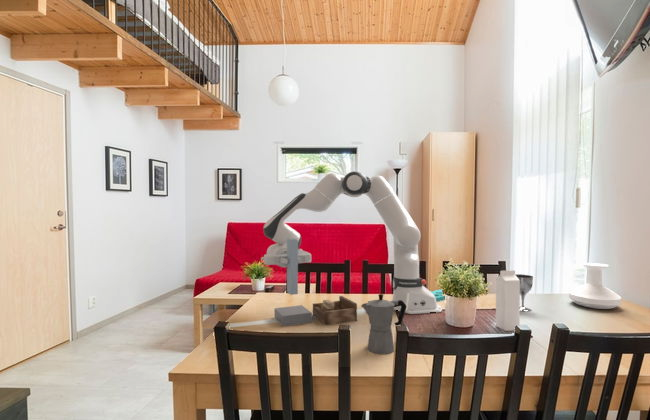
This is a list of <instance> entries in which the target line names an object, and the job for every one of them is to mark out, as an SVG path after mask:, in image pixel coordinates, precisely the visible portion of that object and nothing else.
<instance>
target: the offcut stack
mask: <svg viewBox="0 0 650 420" xmlns="http://www.w3.org/2000/svg"><path fill="white" fill-rule="evenodd" d="M322 303H323V305H321V310H323V311H324V312H325V311H333V310H334V302H332V300H330V299H322Z"/></svg>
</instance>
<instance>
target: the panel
mask: <svg viewBox="0 0 650 420" xmlns="http://www.w3.org/2000/svg"><path fill="white" fill-rule="evenodd" d="M298 249H299V248H298V240H297V239H287V259H289V260H290V261H289V262H290V263H288V264H287V267H286V293H288V294H289V295H290V296H292V295H298V293H299V292H298V291H299V286H298V284H299V281H298V279H299V275H298V274H299V264H298Z"/></svg>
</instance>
